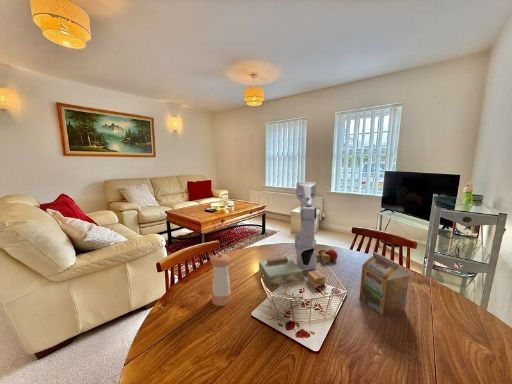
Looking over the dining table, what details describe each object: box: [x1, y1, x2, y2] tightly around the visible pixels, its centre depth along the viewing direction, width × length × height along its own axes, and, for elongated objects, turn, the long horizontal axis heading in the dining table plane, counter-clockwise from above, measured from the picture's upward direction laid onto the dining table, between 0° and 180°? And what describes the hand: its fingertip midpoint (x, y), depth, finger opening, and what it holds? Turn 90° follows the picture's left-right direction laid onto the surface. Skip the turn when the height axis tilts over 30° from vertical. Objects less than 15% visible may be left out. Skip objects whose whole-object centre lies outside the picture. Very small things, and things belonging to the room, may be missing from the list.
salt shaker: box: [210, 252, 232, 307], centre depth 81 cm, size 7×7×19 cm
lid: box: [258, 256, 303, 278], centre depth 100 cm, size 16×14×3 cm
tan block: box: [307, 269, 326, 288], centre depth 94 cm, size 5×6×4 cm
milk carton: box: [359, 252, 410, 318], centre depth 79 cm, size 11×11×19 cm
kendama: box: [316, 248, 338, 264], centre depth 116 cm, size 8×6×18 cm
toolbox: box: [258, 263, 303, 287], centre depth 100 cm, size 16×14×4 cm
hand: (305, 264), depth 92 cm, fingers closed
